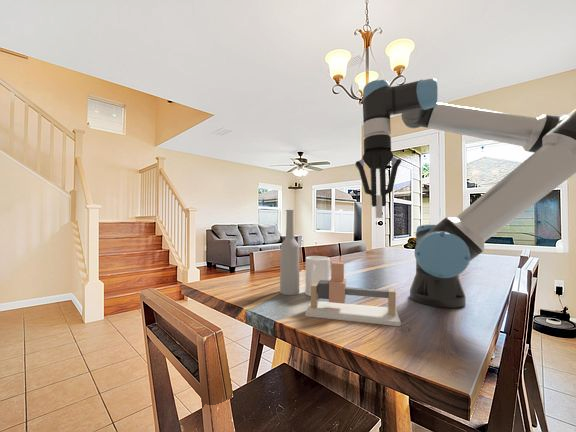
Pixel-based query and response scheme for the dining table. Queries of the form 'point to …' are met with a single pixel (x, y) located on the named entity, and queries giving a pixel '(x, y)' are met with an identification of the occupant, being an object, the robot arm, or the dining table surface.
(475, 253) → the robot arm
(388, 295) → the rail fixture
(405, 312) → the dining table surface
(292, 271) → the bottle
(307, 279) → the mug
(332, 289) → the sleeve
